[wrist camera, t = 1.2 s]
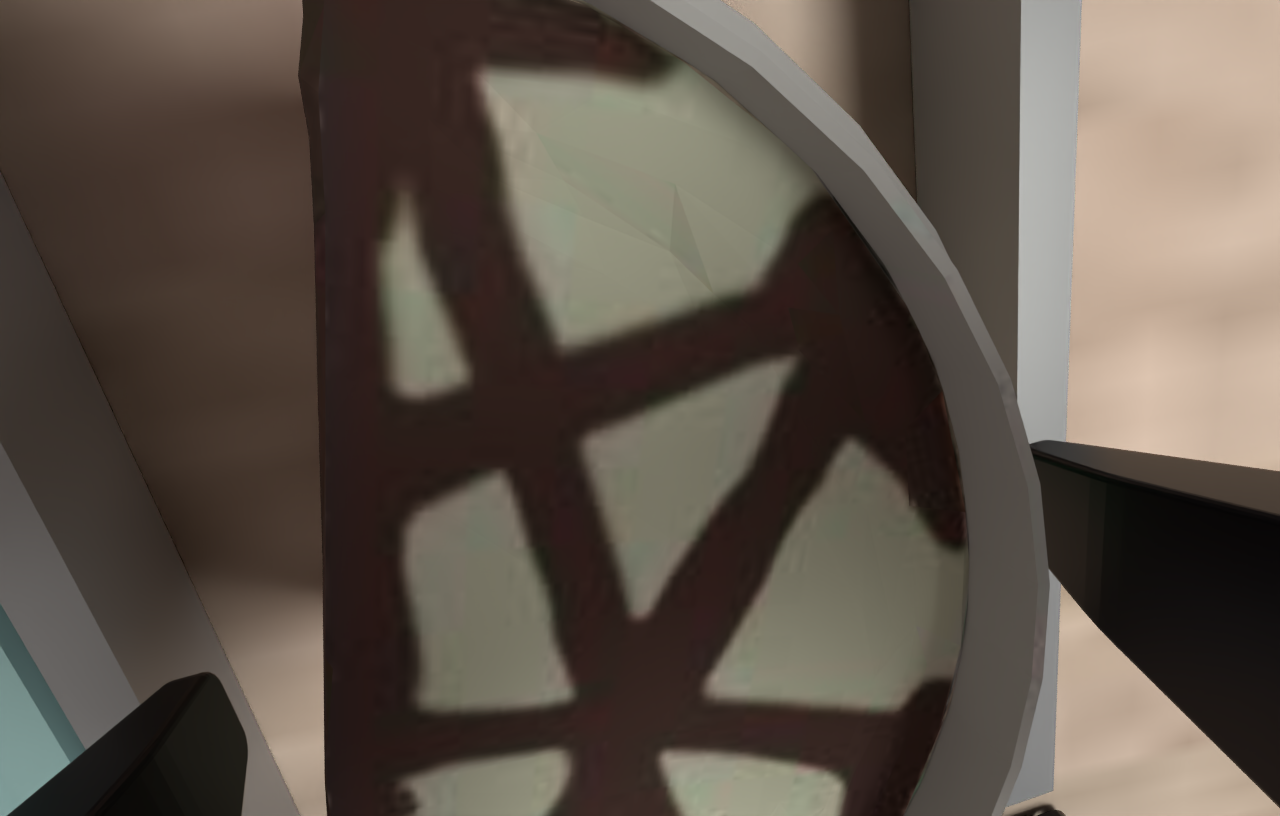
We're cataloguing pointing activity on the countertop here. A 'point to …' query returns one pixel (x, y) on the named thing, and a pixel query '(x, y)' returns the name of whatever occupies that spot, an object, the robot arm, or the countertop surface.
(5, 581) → the grey rectangular frame
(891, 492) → the food container
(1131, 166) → the countertop surface
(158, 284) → the countertop surface
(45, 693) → the tray
